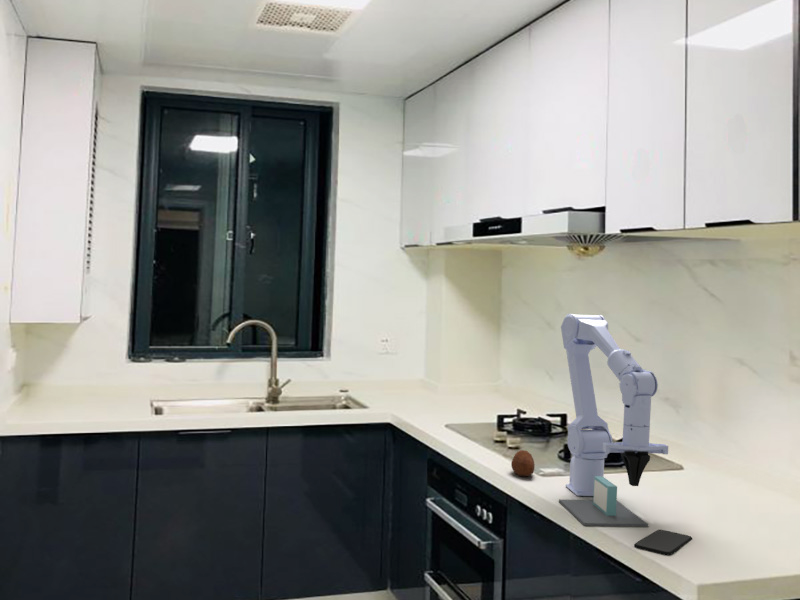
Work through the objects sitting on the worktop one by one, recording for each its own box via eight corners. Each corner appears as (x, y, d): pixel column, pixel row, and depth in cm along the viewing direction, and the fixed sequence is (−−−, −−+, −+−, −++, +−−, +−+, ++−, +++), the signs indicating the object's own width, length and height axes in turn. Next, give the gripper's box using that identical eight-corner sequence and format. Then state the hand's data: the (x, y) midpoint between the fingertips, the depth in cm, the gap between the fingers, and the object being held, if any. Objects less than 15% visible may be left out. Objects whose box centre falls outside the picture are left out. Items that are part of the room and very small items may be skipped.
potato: (517, 480, 203) (518, 455, 203) (506, 469, 215) (507, 446, 215) (539, 480, 204) (541, 455, 204) (527, 469, 216) (528, 446, 215)
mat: (558, 502, 184) (559, 499, 184) (616, 503, 185) (616, 500, 185) (584, 525, 166) (584, 523, 166) (648, 526, 167) (648, 524, 167)
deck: (592, 503, 181) (594, 476, 181) (601, 504, 181) (602, 476, 181) (606, 515, 172) (608, 486, 172) (615, 515, 172) (617, 486, 172)
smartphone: (694, 536, 161) (670, 553, 149) (693, 540, 161) (669, 557, 149) (658, 528, 165) (632, 544, 153) (658, 532, 165) (631, 548, 153)
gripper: (611, 427, 172) (608, 489, 172) (675, 428, 174) (672, 490, 174) (600, 421, 179) (597, 481, 179) (661, 423, 181) (658, 482, 181)
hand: (633, 485), depth 177 cm, fingers closed
